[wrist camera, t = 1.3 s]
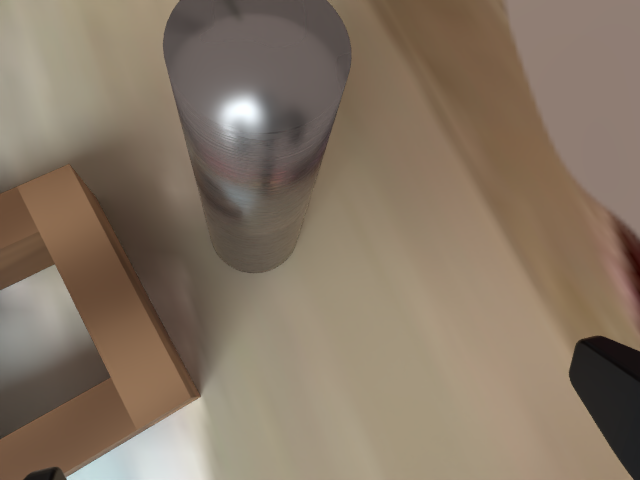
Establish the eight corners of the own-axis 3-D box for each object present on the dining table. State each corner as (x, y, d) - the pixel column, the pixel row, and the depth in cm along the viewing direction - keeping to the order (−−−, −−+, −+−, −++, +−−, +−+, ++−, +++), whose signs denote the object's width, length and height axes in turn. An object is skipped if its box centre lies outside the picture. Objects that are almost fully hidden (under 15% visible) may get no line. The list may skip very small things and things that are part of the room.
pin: (315, 228, 24) (387, 49, 11) (256, 291, 22) (265, 167, 10) (252, 174, 24) (254, -59, 12) (191, 232, 23) (121, 42, 10)
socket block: (200, 396, 21) (191, 397, 17) (-51, 547, 18) (-118, 582, 15) (95, 197, 23) (68, 163, 19) (-146, 308, 20) (-226, 291, 17)
